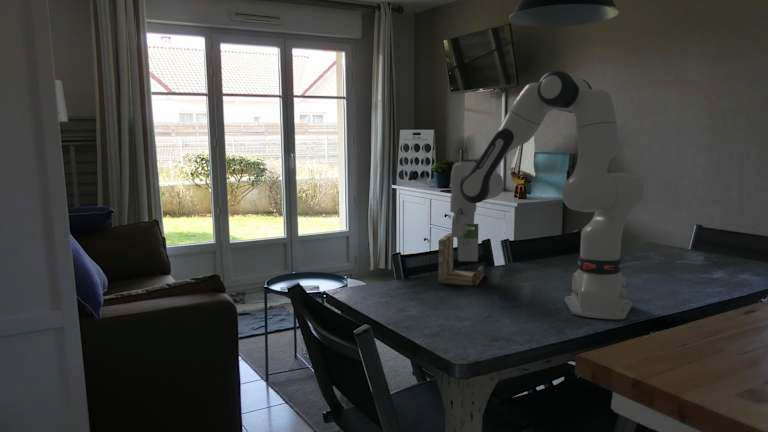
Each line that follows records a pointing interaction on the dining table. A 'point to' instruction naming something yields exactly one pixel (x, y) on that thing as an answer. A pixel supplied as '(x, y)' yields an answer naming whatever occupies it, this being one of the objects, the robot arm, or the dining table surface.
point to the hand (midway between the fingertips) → (462, 245)
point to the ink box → (469, 245)
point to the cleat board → (446, 266)
